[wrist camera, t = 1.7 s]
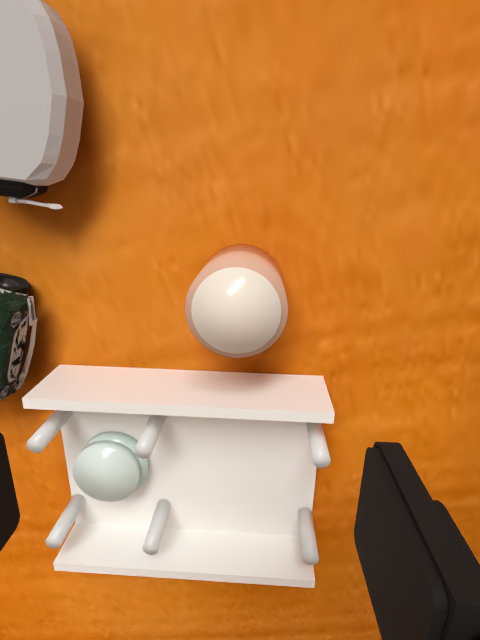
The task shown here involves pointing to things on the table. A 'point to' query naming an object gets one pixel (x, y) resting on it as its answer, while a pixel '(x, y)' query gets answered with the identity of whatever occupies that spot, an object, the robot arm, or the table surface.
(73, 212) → the table surface
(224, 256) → the tumbler
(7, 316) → the miniature car
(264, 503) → the rack
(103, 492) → the mint green dome knob
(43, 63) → the robot toy
